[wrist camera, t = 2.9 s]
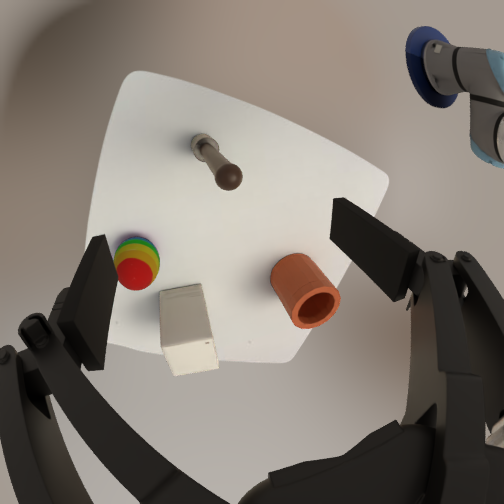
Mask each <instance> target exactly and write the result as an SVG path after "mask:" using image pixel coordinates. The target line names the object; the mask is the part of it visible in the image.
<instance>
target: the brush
mask: <svg viewBox="0 0 504 504" xmlns="http://www.w3.org/2000/svg"><path fill="white" fill-rule="evenodd" d="M191 148H192V150H193V153H194V155H195V157H196V158H197V159H198V160H200V161H202V162H206V163H207V165H208V167H209V168H210V170H211V171H212V173H213V175H214V176H215V181H216V184H217V185H218V186H219V187H220V188H221V189H223V190H227V191H230V190H234V189H236V188H237V187H238V186H239V185H240V184H241V182H242V178H243V175H242V171H241V170H240V168H239V167H238V166H237V165H235V164H232V163H230V162H229V161H228V160H227V159H226V158H225V157H224V156H223V155H222V154H221V153H220V152H219V146H218V143H217V142H216V141H215V140H214V139H213V138H211V137H210V136H208V135H206V134H199V135H197V136H195V137H194V138H193V140H192V142H191Z"/></svg>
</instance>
